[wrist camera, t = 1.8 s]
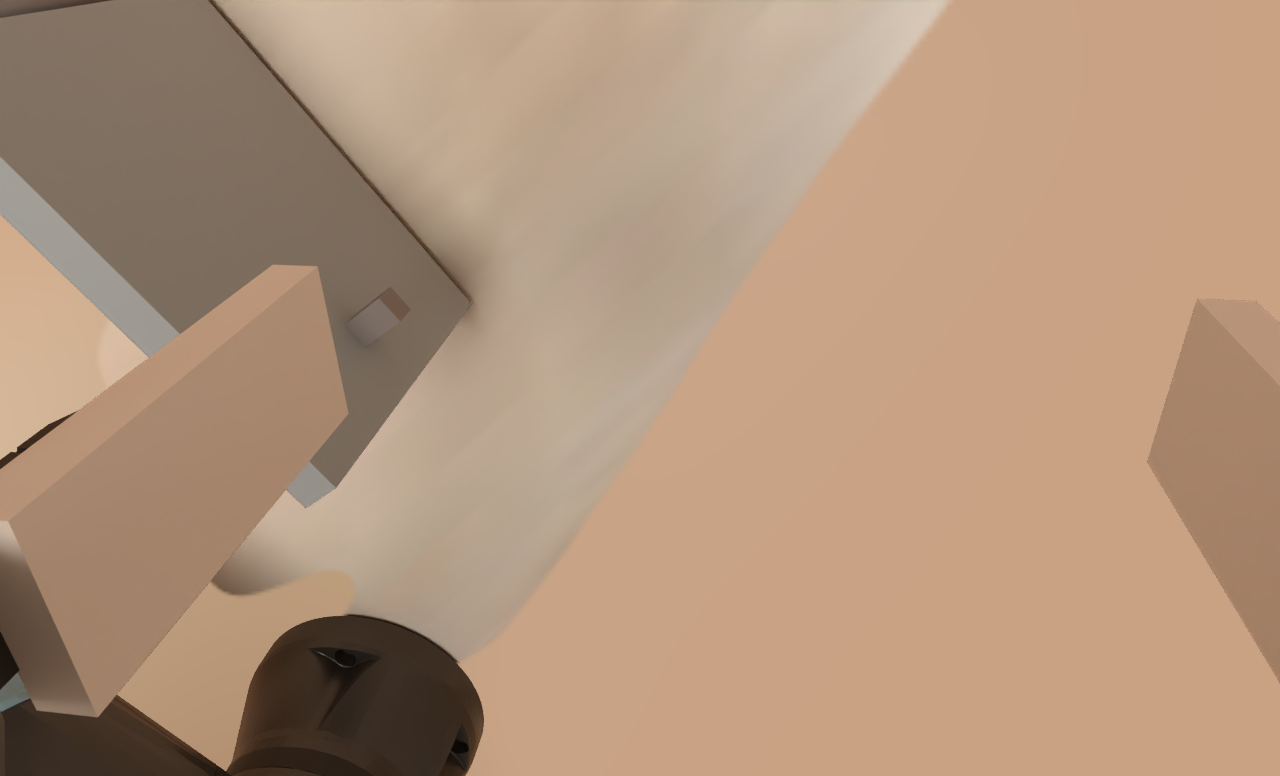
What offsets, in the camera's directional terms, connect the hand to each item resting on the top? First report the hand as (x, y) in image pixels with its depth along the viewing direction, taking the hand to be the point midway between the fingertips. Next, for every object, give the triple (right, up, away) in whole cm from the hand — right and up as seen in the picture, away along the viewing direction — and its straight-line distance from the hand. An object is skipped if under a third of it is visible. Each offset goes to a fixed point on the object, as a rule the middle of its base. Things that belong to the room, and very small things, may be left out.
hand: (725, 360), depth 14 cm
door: (-16, +11, +28) cm, 34 cm away
